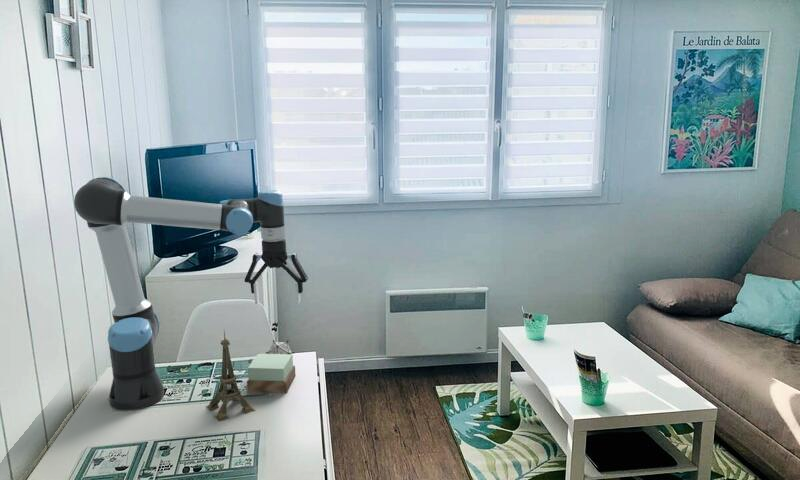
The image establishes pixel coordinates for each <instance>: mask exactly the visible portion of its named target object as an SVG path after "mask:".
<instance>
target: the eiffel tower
mask: <svg viewBox="0 0 800 480" xmlns="http://www.w3.org/2000/svg"><path fill="white" fill-rule="evenodd" d="M220 345H221V346H222V357H221V358H222V360H221V374H220V375H219V377H218V378H219V380H220V383H219V387H218V389H216V390H217V392H216V394H215V395H214V397H213V398H212V399H211V400H210V402H209V404H208V405H206V409H208V411H211V410H215V409H219V410H218V412H217V415H216V416H215V419H216V420H217V421H218V422H220V421H225V420H228V419H229V416H228V415H227V411H228V410H227V408H228V407H227V406H228V405H227V404H228V403H229V402H230V401H233V402H235V403H239V404H240V405H241V406H242V407H241V409H242V411H243V412H244V414H249V413H252V412H255V411H256V408H254V407H253V406H252V405H250V403H249V402H248V401H247V400H246V398H245V397H244V396H243V395H242V391H241V390H240V389H239V386H238V384H237V380H238V377H237V376H236V375H235V372H234V369H233V368H234V367H233V363H232V360H231V353H230V349H229V346H230V345H231V343H230V341H229V339H227V338H226V332H225V330H223V339H222V340H220ZM228 385H230V386H228ZM220 402H221V403H222V404H221V406H219V404H220Z"/></svg>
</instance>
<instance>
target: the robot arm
mask: <svg viewBox="0 0 800 480" xmlns="http://www.w3.org/2000/svg"><path fill="white" fill-rule="evenodd" d="M76 191H77V192H76V193H75V195H74V199H73V204H74V206H73V207H74V209H75V211H76V213H77V214H78V216H79V217H81V219H83V220H84V221H86V223H87V224H86V225H87V227H88V229H90V230H92V231H94V232H95V236H96V238H97V243H98V246H99V250H100V254H101V257H102V261H103V264H104V268H105V272H106V276H107V279H108V283H109V286H110V291H111V294H112V297H113V303H114V305H115V307H114V308H113V310H112V312H111V315H112V318H113V319H112V320H113V323H112V325H110V326H109V329H108V332H107V334H108V336H107V341H108V342H107V343H108V347H109V354H110V355H109V356H110V361H111V370H112V382H111V387H110V391H109V395H108V396H109V397H108V400H109V405H110V406H111V408H114V409H116V410H118V411H119V410H120V411H133V410H139V409H144V408H147V407H149V406H152V405H154V404H156V403H158V402H159V401H162V399H163V398H164V396H165V388H164V385H163V383H162V381H161V379H160V377H159V374H158V372H157V371H156V362H155V353H154V345H155V343H156V342H155V341H156V339H157V336H158V333H159V330H160V321H159V318H158V316H157V314H156V312H155V311H154V308H153V304H152V302H151V301H150V300H148V299H146V298H145V294H144V290H143V288H142V287H143V286H142V282H141V279H140V276H139V275H140V274H139V271H138V267H137V263H136V260H135V256H134V252H133V247H132V245H131V241H130V240H131V239H130V236H129V233H128V227H127V224H128V223H131V224H133V223H134V224H146V225H158V226H160V225H161V226H167V227H168V226H169V227H180V228H193V229H194V228H195V229H205V230H217V231H225V232H229V233H232V234H234V235H239V236H241V235H244V234H247V233H248V232H249V231H250V230H251V229H252V226H253V224H254V223H259V224H260V236H261V237H260V238H261V239H262V241H261V252H262V253H261V254H260V253H257V252H255V253H254V254H253V255H252V260H251V261H252V262H251V264H250V266H249V268H248V270H247V273H246V276H245V277H244V282H245V283H248V284H250V292H251V294H253V295H254V305H257V304H259V303H260V289H259V282H257V281H258V279H259V278H260V276H261V275H262V274H263V273H264V272H265V270H266V269H267V267H268V268H269V269H273V268H275V269H276V268H277V269H280V268H281V269H283V270H284V271H286V272H287V274H289V276H290V277H291V278H292V280H294V281H295V282H296V283H295V287H294V288H295V300H296V302H295V303H296V305H299V304H300V303H301V294H302V293H303V290H304V288H303V287H304V286H303V283H306V282H307V281H308V280H309V277H308V275H307V273H306V272H305V270H304V268H303V266H302V265H301V262H300V261H299V260H298V256H297V253H296V252H292V253H290V254H289V253H287V242H286V239H285V237H286V229H285V228H286V227H285V213H284V212H285V211H284V199H283V193H282V192H281V190H276V189H267V190H261V191H259V192H258V193H257V197H254V198H241V199H240V198H239V199H238V198H237V199H232V198H230V199H225V200H221V201H219V203H209V202H200V201H191V200H183V199H182V200H181V199H172V198H171V199H170V198H160V197H149V196H139V195H131V194H130V193H128V191H126V189H125V187H124V186H123V184H121V182H120V181H118V180H116V179H114V178H112V177H108V176H101V177H96V178H92V179H91V180H88V182H87V183H85V184H84V185H82V186H81V187H79V189H77V190H76ZM288 259H289V260H290V261H291V263H292V265H293V266H294V268H295V270H294V268H293V267H292V266H290V263H289V262H287V260H288ZM260 260H262V261H263V262H264V263H263V264H262V266H261V267H260V268H259V270H258V271H257V272H256V273H255V275H254V276H253V277H252V275H253V273H254V272H255V268H256V267H257V264H258V263H259V261H260Z"/></svg>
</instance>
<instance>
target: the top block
mask: <svg viewBox="0 0 800 480" xmlns="http://www.w3.org/2000/svg"><path fill="white" fill-rule="evenodd" d="M293 359H294V358H293V353H292V354H268V353H267V354H266V353H258V354H257V355H256V356H255V357H254V358H253V360H252V361H251V362H250V364H249V366H248V367H247V378H248V379H247V381H248V380H258V381H285V379H286V377H287V376H288V374H289V372H290V371H291V369H292V367H293V366H294V360H293Z"/></svg>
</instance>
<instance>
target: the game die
mask: <svg viewBox="0 0 800 480" xmlns="http://www.w3.org/2000/svg"><path fill="white" fill-rule="evenodd" d="M272 342H273V343H272V345H271V347H270V348H269V350H268V351H266V352H265V354H292V355H293V354H295V352H294V351H292V350H291V347H290V346H289V339H288V340H286V341H275V340H274V339H273V340H272Z"/></svg>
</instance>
